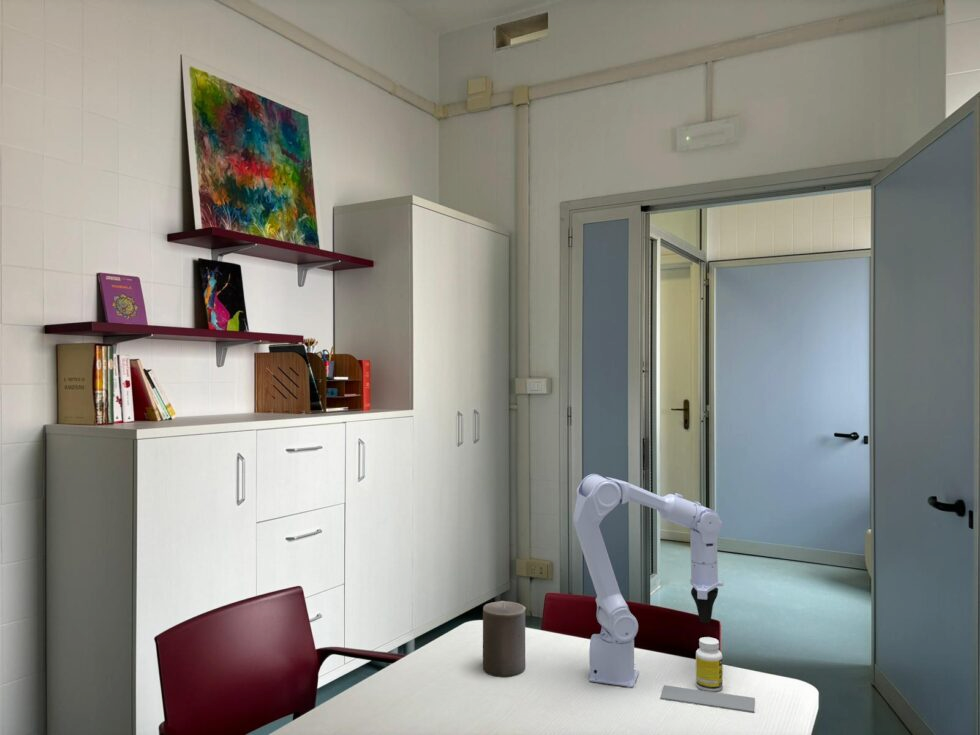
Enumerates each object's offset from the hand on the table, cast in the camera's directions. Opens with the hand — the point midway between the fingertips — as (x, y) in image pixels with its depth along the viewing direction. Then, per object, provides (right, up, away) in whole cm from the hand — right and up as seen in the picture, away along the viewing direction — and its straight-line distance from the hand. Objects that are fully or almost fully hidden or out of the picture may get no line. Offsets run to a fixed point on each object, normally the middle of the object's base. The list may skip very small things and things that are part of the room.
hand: (705, 621), depth 161 cm
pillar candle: (-45, -11, +2) cm, 46 cm away
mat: (-4, -11, -14) cm, 18 cm away
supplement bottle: (-2, -11, -9) cm, 14 cm away
